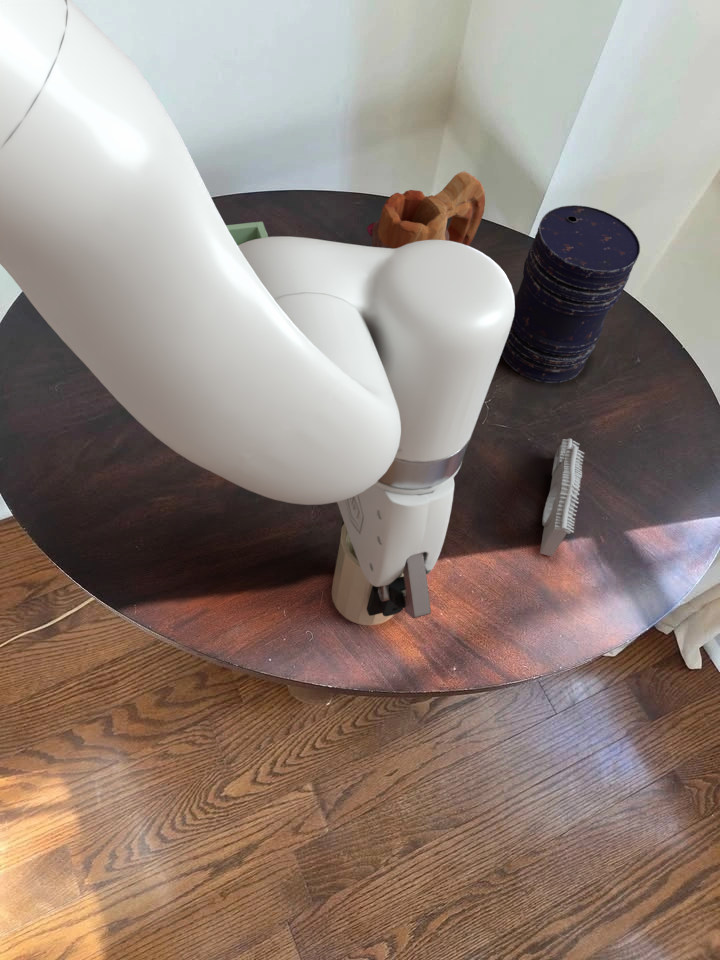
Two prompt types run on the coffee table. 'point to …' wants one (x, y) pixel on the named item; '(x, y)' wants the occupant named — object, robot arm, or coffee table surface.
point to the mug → (431, 215)
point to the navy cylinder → (568, 291)
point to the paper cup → (352, 585)
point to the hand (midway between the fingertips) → (372, 570)
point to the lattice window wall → (562, 496)
